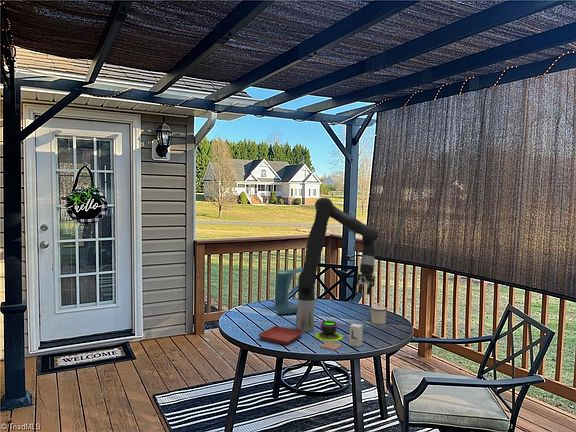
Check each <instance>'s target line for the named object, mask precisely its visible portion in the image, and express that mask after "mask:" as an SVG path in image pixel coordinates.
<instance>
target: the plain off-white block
mask: <svg viewBox="0 0 576 432" xmlns="http://www.w3.org/2000/svg"><path fill="white" fill-rule="evenodd" d="M363 329H364V325H363V324H360V323H359V324H358V323H353V322H352V324H350V325H349V337H348V340H349V342H348V345H349V346H350V347H355V346H356V348H360V347H361V346H362V345H363V334H364V333H363ZM359 346H360V347H359Z"/></svg>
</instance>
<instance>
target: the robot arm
mask: <svg viewBox="0 0 576 432" xmlns="http://www.w3.org/2000/svg"><path fill="white" fill-rule="evenodd" d="M314 207H315V215H314V217H315V218H314V222H313V224H312V226H311V228H310V231H309V235H308V238H307V242H306V247H305V254H304V255H305V258H304V259H305V260H304V265H303V267H302V268H303V271H302V272H300V273H298V281H297V282H298V283H297V284H298V285H297V286H298V287H297V288H298V289H297V292H298V297H297V298H298V299H297V305H298V312H297V313H295V314H296V315H295V316H296V317H295V320H296V321H295V330H299V331H303V332H307V333H308V332H312V331H314V327H315V305H314V304H316V300H315V299H316V298H315V296H316V295H315V292H316V290H315V287H316V286H315V285H316V280H317V271H318V266H319V263H320V262H319V261H320V258H321V255H322V251H323V249H324V244H325V239H326V234H327V228H328V222H329V219H330V218H331V219H333V220H335V221H336V222H338V223H340V224H341V225H342V226H343V227H345V228H347V229H348V230H350V231H351V232H353V233H354V234H355V235H361V236H362V237H361V238H362V239H361V240H362V241H361V245H362V252H361V257H360V267H359V272H360V273H361V274H360V273H357V277H356V283H355V284H356V285H357V287H358V288H357V293H358V294H362V293H363V288H364V284H366V286H367V287H366V294H367V295H372V293H371V292H372V288H373V287H375V282H376V275H373V274H374V272H375V271H374V270H375V261H376V260H375V256H376V255H375V254H376V247H375V246H374V243H375V241H376V240H378V238H379V232H378V231H377V230H376V229H375V228H374V227H372V226H370V225H368V224H365V223H363V222H362V221H361V220H358V218H356V217H354V216H352V215H350V214H349V213H346V212H344V211H343V210H341V209H339V208H338V207H336V206H335V204H333V202H332V200H331V199H330V198H329V197H320V198H318V199H316V201H315V203H314Z"/></svg>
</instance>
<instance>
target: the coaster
mask: <svg viewBox="0 0 576 432" xmlns="http://www.w3.org/2000/svg"><path fill="white" fill-rule="evenodd" d="M342 347H343V344H341V343H337V342H334V341H325V342H324V343H323V344H320V348H322V349H326V350H330V351H335V352H336V351H337V350H338V349H340V348H342Z"/></svg>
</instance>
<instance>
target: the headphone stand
mask: <svg viewBox="0 0 576 432" xmlns="http://www.w3.org/2000/svg"><path fill="white" fill-rule="evenodd" d="M302 271H303V267H297V268H295V269H283V270H282V269H281V270H276V278H275V279H276V283H275V299H274V304H275V305H274V306H275V309H274V310H275V312H276V314H277V315H289V314H290V315H291V314H296V313H297V312H298V304H293V303H290V301H289V293H290V287H291V283H292V280H293V278H294V276H295V274H300V273H301V272H302ZM315 304H316V303H315ZM315 304H314V306H315Z"/></svg>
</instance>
